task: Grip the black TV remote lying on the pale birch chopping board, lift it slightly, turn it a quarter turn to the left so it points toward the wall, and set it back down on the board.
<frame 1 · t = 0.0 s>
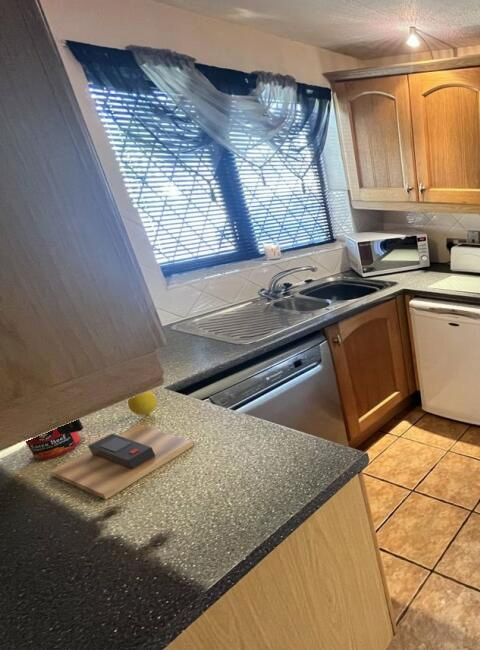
hand: (88, 416, 76), 18 cm above the counter, tool pointing down, fingers open, 9 cm apart
board: (126, 460, 90), on the counter
canned food: (59, 449, 94), on the counter
lemon: (148, 415, 107), on the counter
remote: (104, 448, 92), point 1 cm above the counter, touching board
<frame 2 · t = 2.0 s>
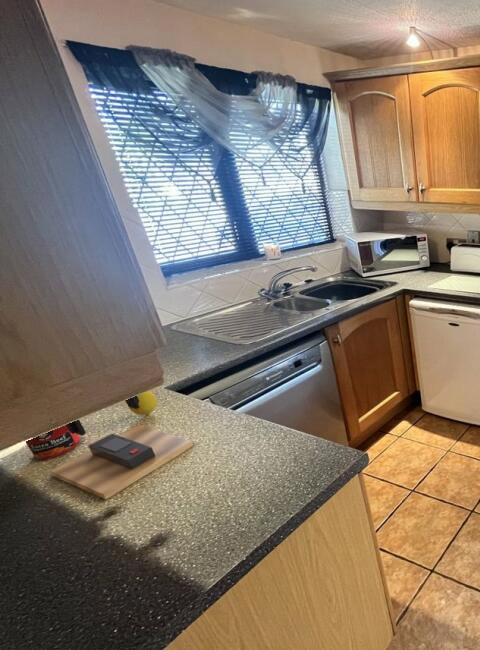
hand: (108, 419, 86), 11 cm above the counter, tool pointing down, fingers open, 9 cm apart
nothing on the counter moved.
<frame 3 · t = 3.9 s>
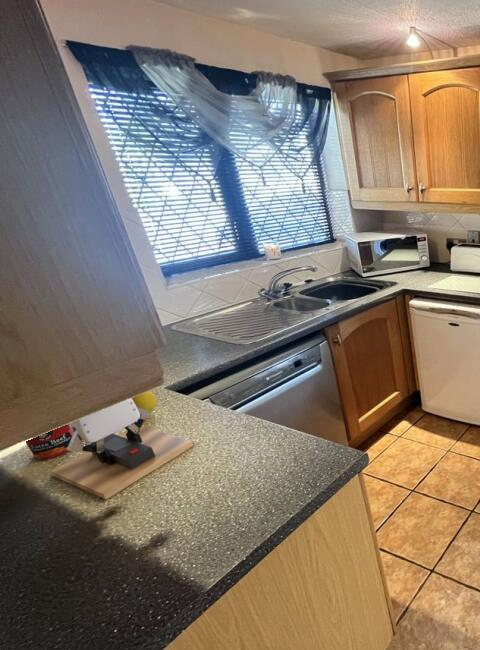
hand: (123, 454, 89), 2 cm above the counter, tool pointing down, fingers closed on remote, 4 cm apart
remote: (104, 448, 92), point 2 cm above the counter, touching board, gripper
everything else where it was.
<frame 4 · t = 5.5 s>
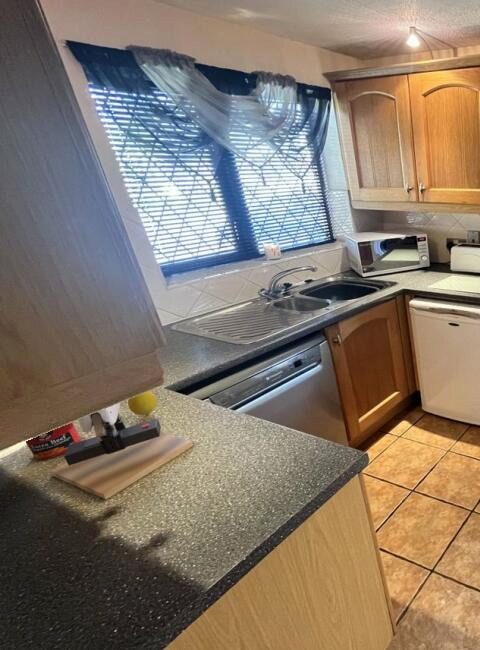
hand: (117, 443, 88), 5 cm above the counter, tool pointing down, fingers closed on remote, 4 cm apart
remote: (71, 459, 84), point 5 cm above the counter, touching gripper
everything else where it was.
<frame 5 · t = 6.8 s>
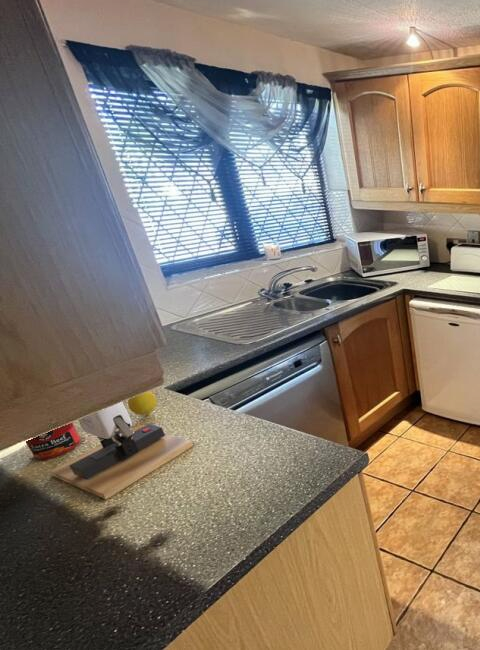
hand: (122, 452, 89), 2 cm above the counter, tool pointing down, fingers closed on remote, 4 cm apart
remote: (80, 477, 83), point 2 cm above the counter, touching gripper
everything else where it was.
when the fingers open (2 cm above the counter, at t = 7.3 s): remote stays where it is, resting on board.
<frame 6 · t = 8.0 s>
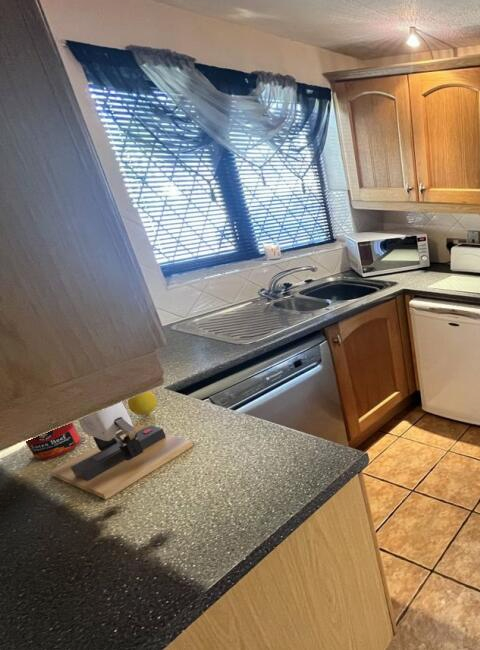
hand: (121, 451, 89), 3 cm above the counter, tool pointing down, fingers open, 9 cm apart
remote: (81, 478, 83), point 1 cm above the counter, touching board
everything else where it was.
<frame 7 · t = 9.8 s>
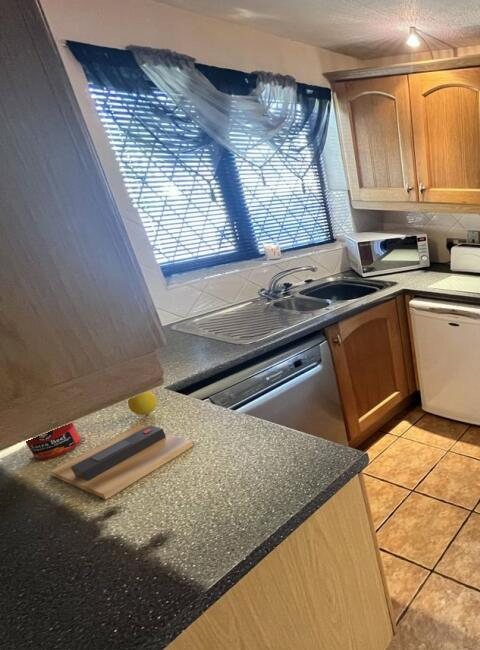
nothing on the counter moved.
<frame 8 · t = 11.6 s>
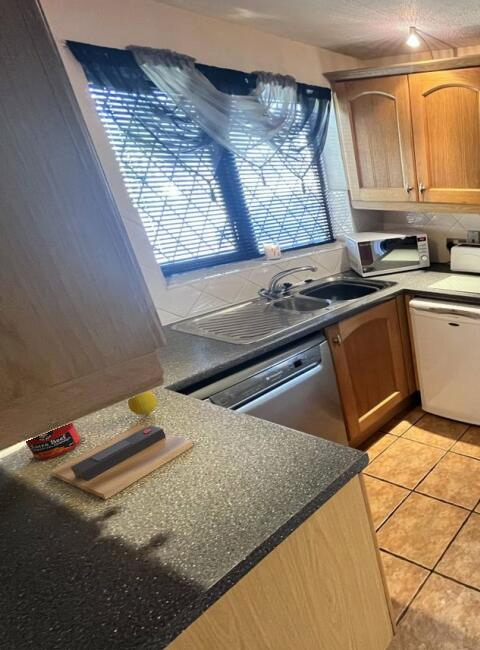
nothing on the counter moved.
at the end: remote 0.1 cm from the target spot, point 1.5 cm above the counter; remote tilted 0°; the gripper is holding nothing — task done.
